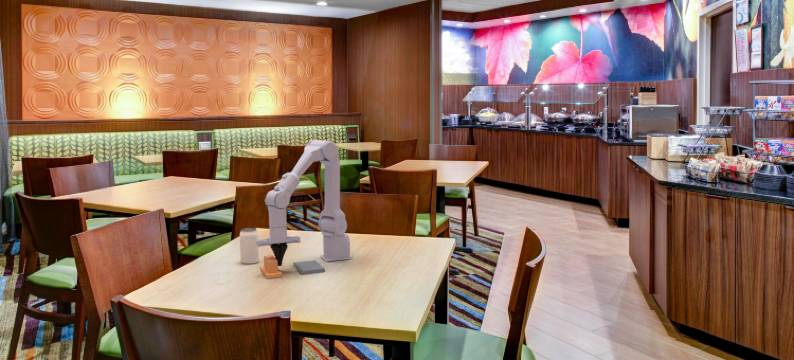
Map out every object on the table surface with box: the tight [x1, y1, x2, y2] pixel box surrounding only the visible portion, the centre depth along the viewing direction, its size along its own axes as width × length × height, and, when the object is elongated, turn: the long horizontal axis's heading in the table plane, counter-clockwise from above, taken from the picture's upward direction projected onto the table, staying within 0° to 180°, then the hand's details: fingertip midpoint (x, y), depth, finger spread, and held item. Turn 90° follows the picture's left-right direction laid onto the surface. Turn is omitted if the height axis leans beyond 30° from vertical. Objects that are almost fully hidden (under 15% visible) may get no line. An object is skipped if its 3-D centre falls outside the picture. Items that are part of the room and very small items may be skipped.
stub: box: [259, 254, 283, 279], centre depth 206 cm, size 5×12×5 cm, turn 23°
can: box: [239, 227, 260, 265], centre depth 221 cm, size 6×6×12 cm
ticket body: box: [292, 259, 326, 275], centre depth 212 cm, size 8×12×1 cm, turn 23°
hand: (279, 265), depth 208 cm, fingers closed
